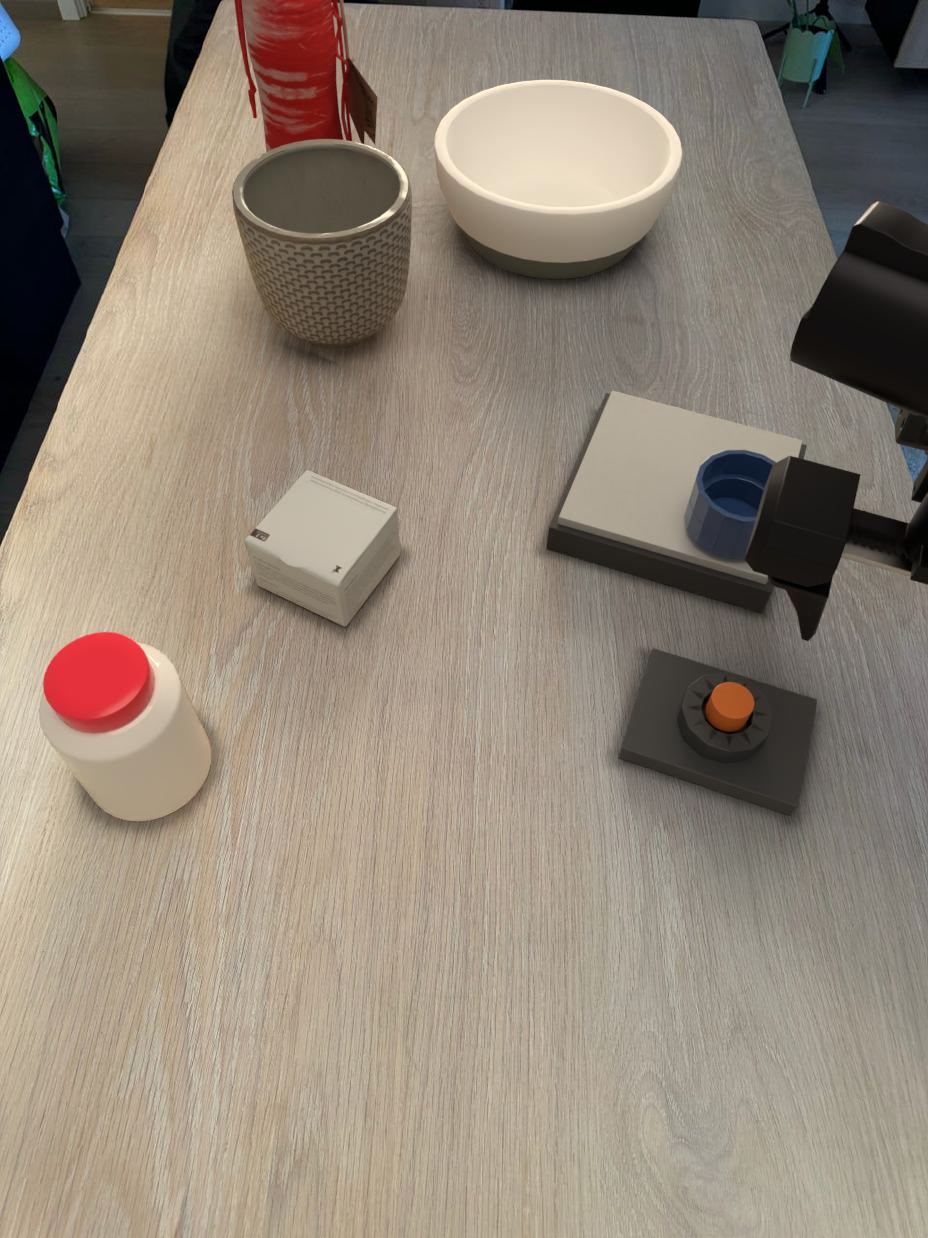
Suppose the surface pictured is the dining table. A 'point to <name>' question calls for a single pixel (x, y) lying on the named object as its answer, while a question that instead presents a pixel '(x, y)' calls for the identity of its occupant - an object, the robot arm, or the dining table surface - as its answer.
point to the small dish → (727, 501)
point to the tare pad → (720, 733)
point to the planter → (326, 237)
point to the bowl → (555, 174)
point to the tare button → (729, 706)
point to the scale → (656, 497)
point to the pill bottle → (124, 726)
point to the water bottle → (302, 71)
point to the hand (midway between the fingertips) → (892, 659)
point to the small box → (325, 547)
